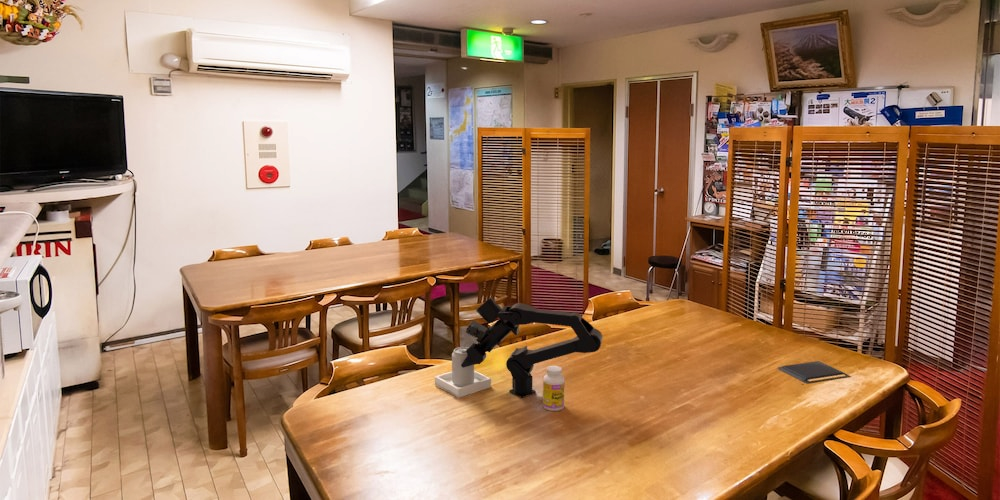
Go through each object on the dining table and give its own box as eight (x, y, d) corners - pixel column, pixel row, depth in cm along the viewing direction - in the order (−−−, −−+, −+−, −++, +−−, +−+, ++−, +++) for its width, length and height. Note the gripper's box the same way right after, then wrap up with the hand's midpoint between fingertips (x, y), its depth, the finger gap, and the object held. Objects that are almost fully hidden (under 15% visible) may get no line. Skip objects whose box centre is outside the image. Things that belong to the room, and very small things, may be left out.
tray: (490, 386, 208) (490, 378, 207) (458, 397, 199) (458, 389, 199) (466, 374, 218) (466, 366, 218) (434, 384, 210) (434, 376, 209)
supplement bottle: (550, 413, 188) (550, 374, 186) (538, 405, 194) (539, 366, 192) (568, 409, 191) (569, 370, 189) (556, 400, 197) (557, 363, 195)
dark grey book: (820, 358, 229) (853, 374, 215) (820, 363, 230) (853, 379, 215) (775, 364, 224) (805, 380, 210) (774, 369, 224) (805, 385, 210)
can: (464, 389, 203) (463, 355, 201) (447, 383, 208) (447, 350, 206) (478, 382, 209) (478, 348, 207) (462, 376, 214) (461, 344, 211)
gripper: (488, 306, 211) (458, 335, 216) (471, 323, 193) (440, 353, 198) (511, 330, 210) (480, 358, 215) (496, 349, 193) (463, 378, 198)
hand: (466, 361), depth 207 cm, fingers open, 9 cm apart
